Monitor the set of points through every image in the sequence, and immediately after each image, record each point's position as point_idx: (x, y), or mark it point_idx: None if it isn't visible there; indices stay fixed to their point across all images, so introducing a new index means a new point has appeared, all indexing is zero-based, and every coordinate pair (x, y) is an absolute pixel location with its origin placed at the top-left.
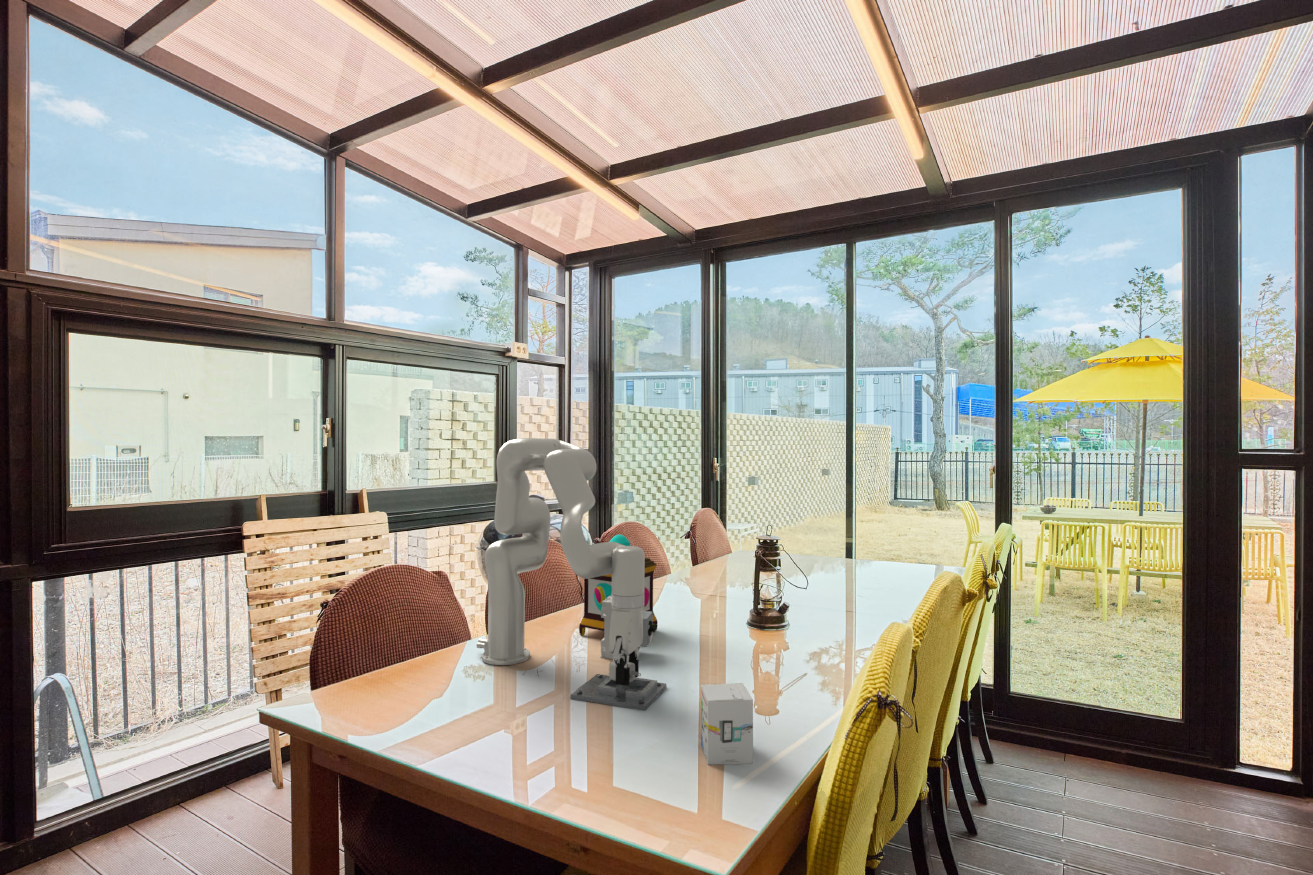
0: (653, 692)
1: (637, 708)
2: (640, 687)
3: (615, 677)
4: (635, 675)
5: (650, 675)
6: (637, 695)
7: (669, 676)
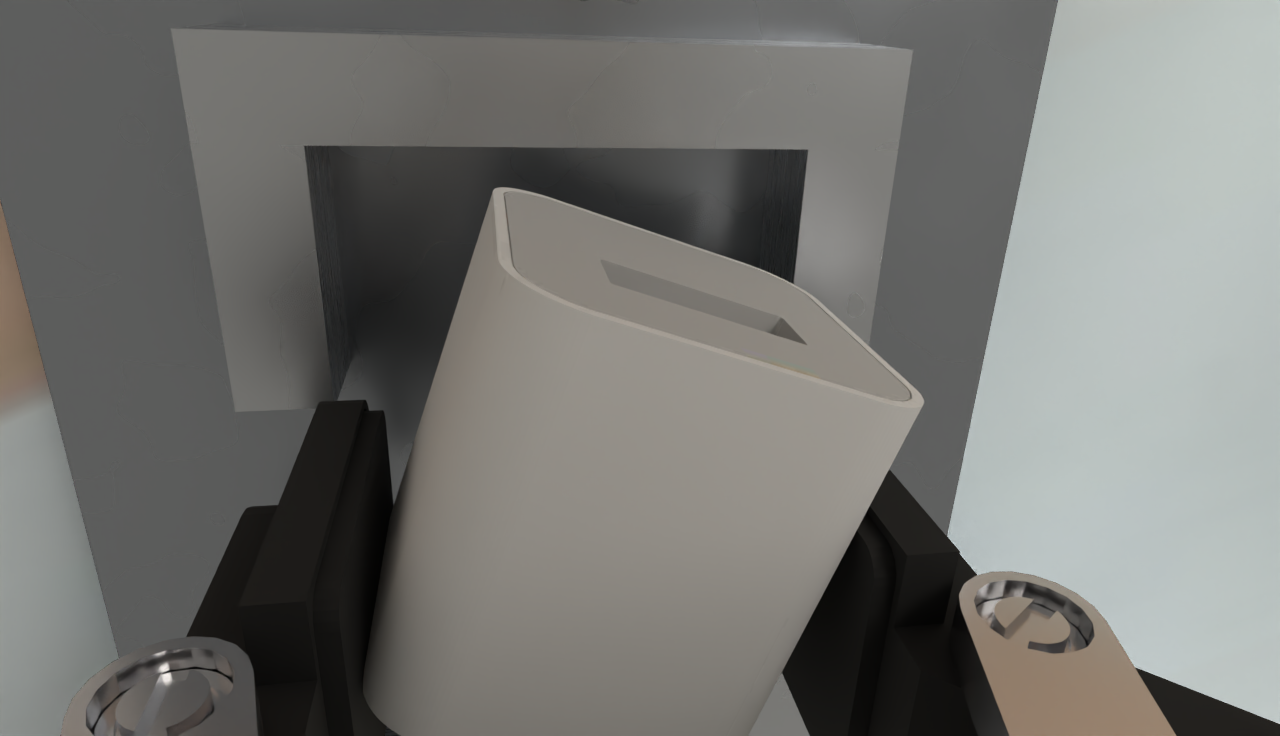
0: None
1: None
2: None
3: (443, 363)
4: None
5: (1242, 398)
6: None
7: (1217, 588)
